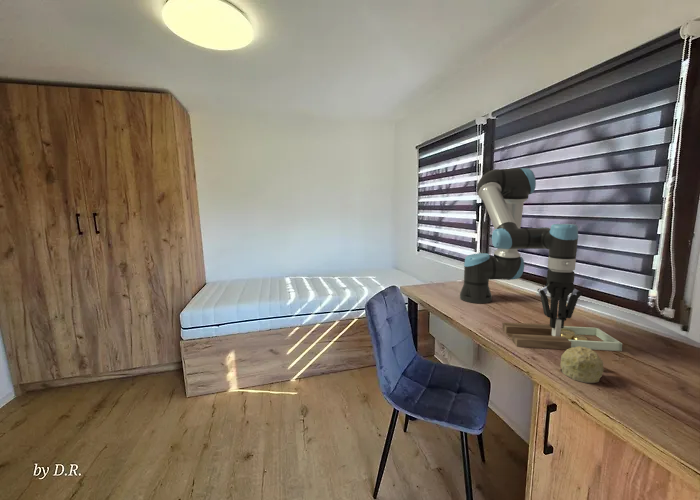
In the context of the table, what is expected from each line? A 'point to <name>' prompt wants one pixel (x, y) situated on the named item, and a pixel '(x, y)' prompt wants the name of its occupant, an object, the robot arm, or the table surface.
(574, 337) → the chip
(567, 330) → the chip
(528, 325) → the slot board
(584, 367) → the decorative object
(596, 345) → the tray
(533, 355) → the table surface
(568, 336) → the chip
